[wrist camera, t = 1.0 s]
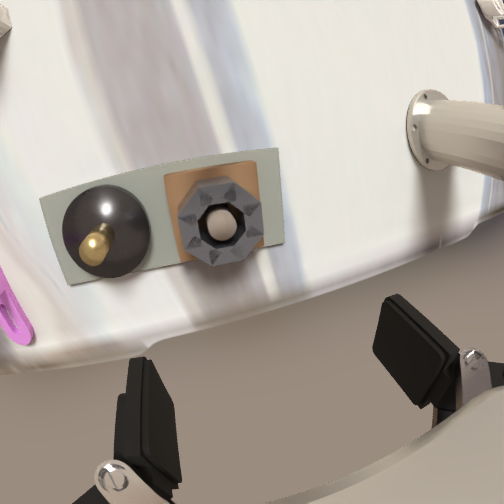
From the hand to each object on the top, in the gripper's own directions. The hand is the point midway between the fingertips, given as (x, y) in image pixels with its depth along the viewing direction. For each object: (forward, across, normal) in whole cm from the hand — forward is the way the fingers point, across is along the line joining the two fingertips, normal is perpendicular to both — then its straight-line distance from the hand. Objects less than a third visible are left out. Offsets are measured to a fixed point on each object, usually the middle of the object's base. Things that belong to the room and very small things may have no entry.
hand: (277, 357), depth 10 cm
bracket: (+22, +32, +7) cm, 40 cm away
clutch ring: (+20, 0, 0) cm, 20 cm away
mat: (+22, +6, 0) cm, 23 cm away
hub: (+22, +12, 0) cm, 25 cm away
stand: (+22, 0, 0) cm, 22 cm away
